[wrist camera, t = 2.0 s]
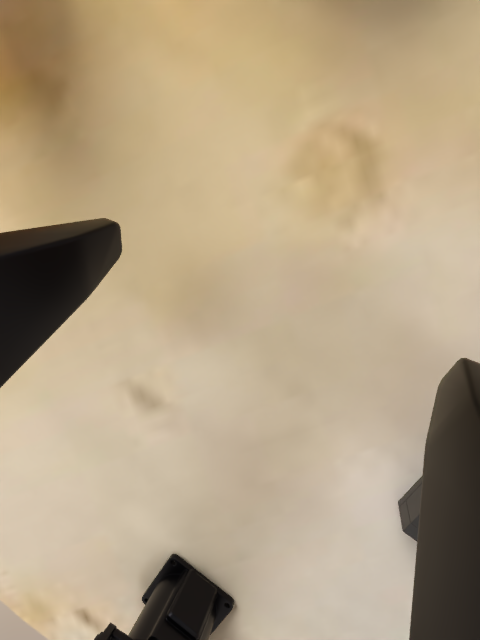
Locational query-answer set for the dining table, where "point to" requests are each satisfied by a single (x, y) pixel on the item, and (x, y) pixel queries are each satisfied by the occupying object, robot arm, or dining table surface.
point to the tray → (411, 510)
